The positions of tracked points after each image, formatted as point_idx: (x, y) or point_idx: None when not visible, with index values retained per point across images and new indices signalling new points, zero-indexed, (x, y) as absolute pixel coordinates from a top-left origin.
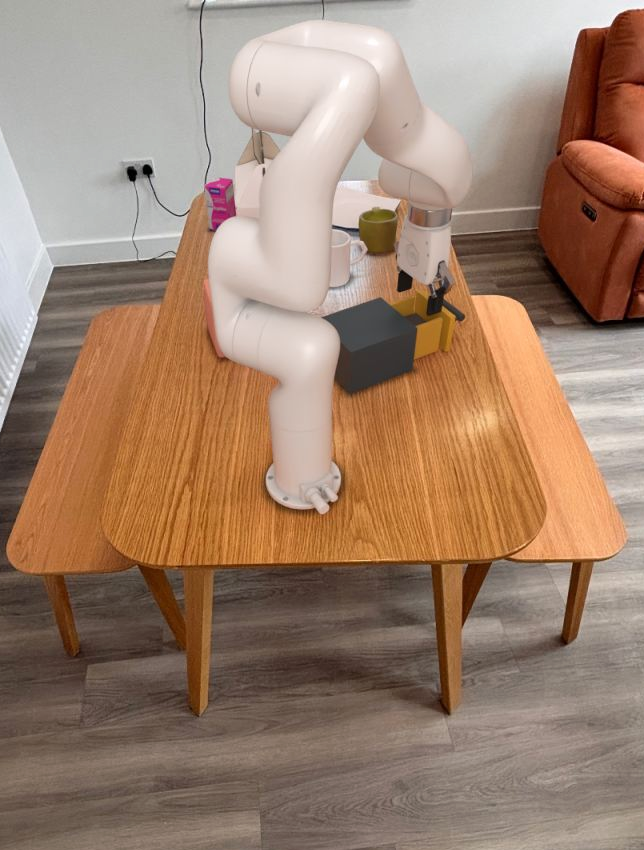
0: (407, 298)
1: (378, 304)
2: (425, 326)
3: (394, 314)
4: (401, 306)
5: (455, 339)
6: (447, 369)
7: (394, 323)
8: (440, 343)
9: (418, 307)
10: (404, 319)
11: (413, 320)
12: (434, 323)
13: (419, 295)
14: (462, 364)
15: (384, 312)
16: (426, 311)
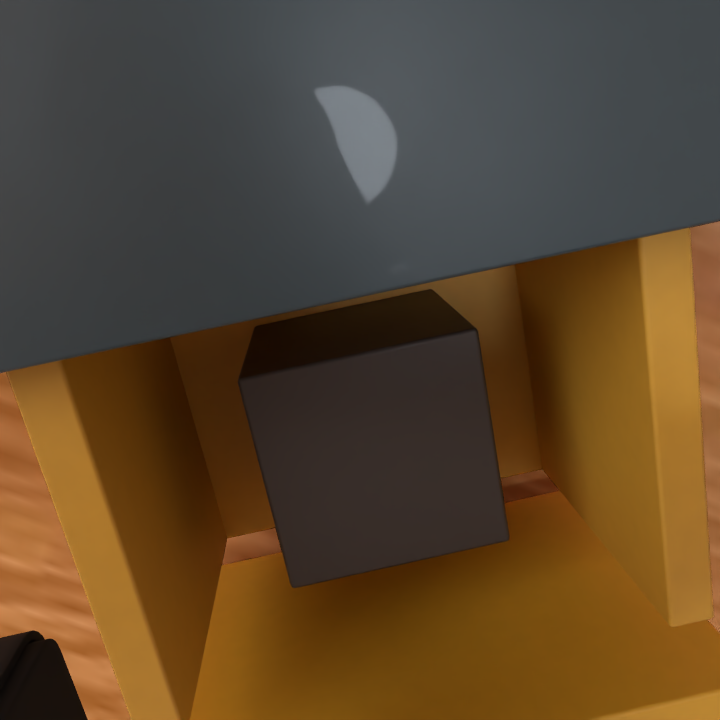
0: (682, 542)
1: (671, 74)
2: (69, 530)
3: (314, 210)
4: (623, 435)
5: None
6: (41, 515)
7: (68, 107)
8: (251, 576)
9: (612, 592)
10: (141, 306)
11: (390, 470)
12: (112, 640)
13: (685, 677)
14: (72, 621)
15: (426, 77)
16: (30, 662)
